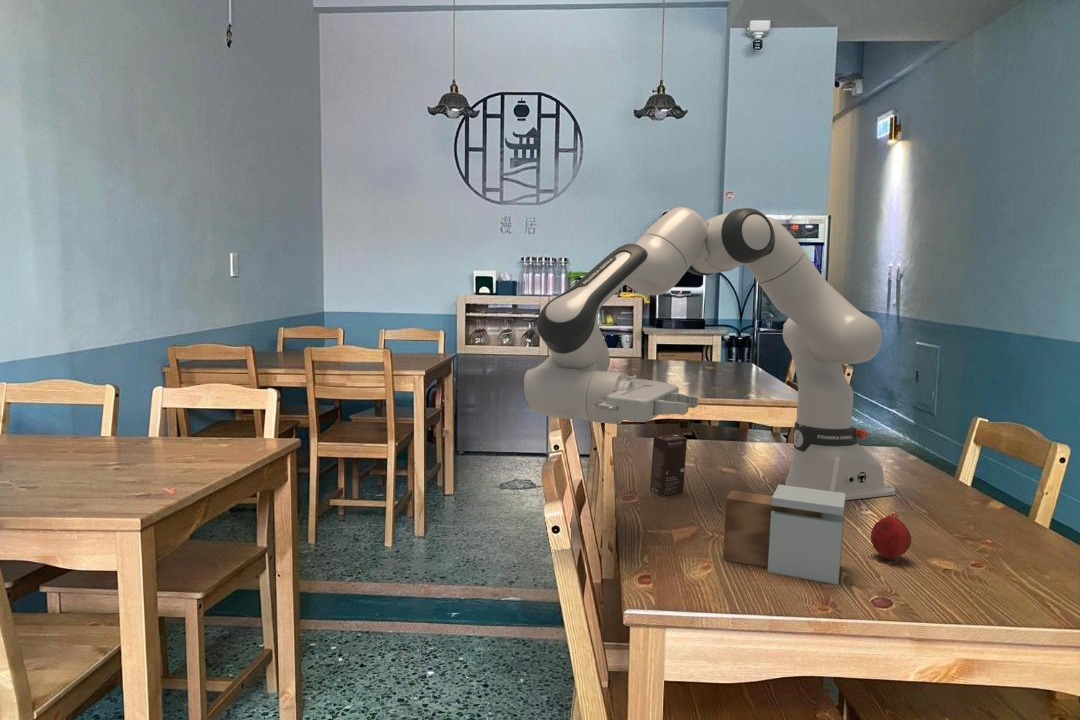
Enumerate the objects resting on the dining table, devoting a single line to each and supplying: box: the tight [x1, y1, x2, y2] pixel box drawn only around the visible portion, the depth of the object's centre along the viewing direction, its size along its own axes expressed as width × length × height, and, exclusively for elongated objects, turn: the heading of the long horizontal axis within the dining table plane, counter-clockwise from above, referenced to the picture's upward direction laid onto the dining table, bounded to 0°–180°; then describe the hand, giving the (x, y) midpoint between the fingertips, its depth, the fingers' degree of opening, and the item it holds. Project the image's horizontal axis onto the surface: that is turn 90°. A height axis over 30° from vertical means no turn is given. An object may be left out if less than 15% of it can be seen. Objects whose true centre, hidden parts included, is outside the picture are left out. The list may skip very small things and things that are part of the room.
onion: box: [870, 511, 912, 561], centre depth 116 cm, size 6×6×8 cm
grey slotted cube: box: [767, 484, 846, 585], centre depth 111 cm, size 10×8×12 cm
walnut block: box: [722, 490, 823, 569], centre depth 113 cm, size 14×5×10 cm, turn 65°
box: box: [649, 433, 688, 497], centre depth 151 cm, size 6×4×12 cm
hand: (692, 405), depth 117 cm, fingers open, 6 cm apart
